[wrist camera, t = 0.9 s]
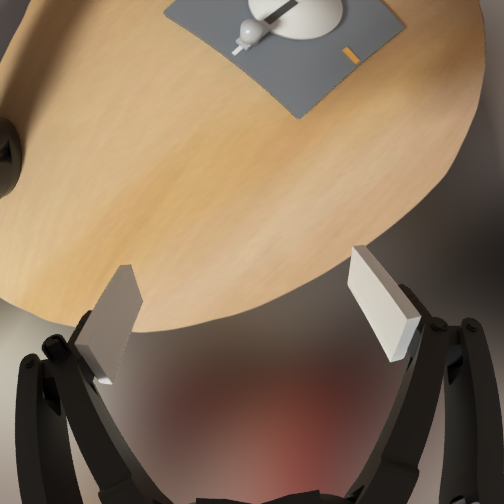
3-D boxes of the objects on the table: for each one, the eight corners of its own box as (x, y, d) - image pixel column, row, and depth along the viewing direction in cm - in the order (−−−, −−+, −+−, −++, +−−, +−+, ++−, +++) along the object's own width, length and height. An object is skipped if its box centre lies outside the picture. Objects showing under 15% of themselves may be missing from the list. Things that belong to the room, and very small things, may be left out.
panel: (166, 16, 25) (162, 11, 23) (283, -65, 17) (285, -72, 15) (296, 118, 33) (300, 118, 31) (398, 30, 26) (406, 27, 24)
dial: (290, -39, 19) (297, -56, 15) (355, 13, 23) (370, 2, 19) (205, 21, 24) (201, 7, 20) (277, 76, 28) (283, 69, 24)
